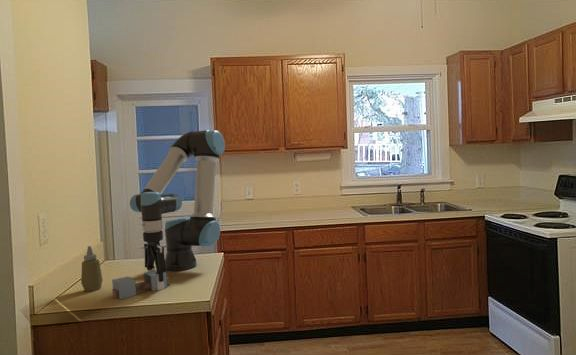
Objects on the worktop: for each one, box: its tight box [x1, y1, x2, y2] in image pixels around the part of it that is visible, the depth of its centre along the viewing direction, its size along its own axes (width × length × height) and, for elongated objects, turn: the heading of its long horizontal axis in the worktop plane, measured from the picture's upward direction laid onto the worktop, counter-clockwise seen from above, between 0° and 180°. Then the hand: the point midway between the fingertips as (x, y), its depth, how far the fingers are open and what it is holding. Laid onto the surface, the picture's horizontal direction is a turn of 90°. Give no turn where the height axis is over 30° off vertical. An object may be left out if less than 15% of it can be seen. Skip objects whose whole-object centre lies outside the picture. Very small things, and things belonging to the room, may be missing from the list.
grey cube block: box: [143, 269, 168, 292], centre depth 183 cm, size 7×7×6 cm
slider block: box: [112, 275, 137, 300], centre depth 175 cm, size 7×7×6 cm
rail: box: [111, 276, 171, 300], centre depth 180 cm, size 22×3×4 cm, turn 130°
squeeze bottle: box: [80, 245, 104, 293], centre depth 186 cm, size 8×8×18 cm
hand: (156, 287), depth 183 cm, fingers closed on grey cube block, 7 cm apart
